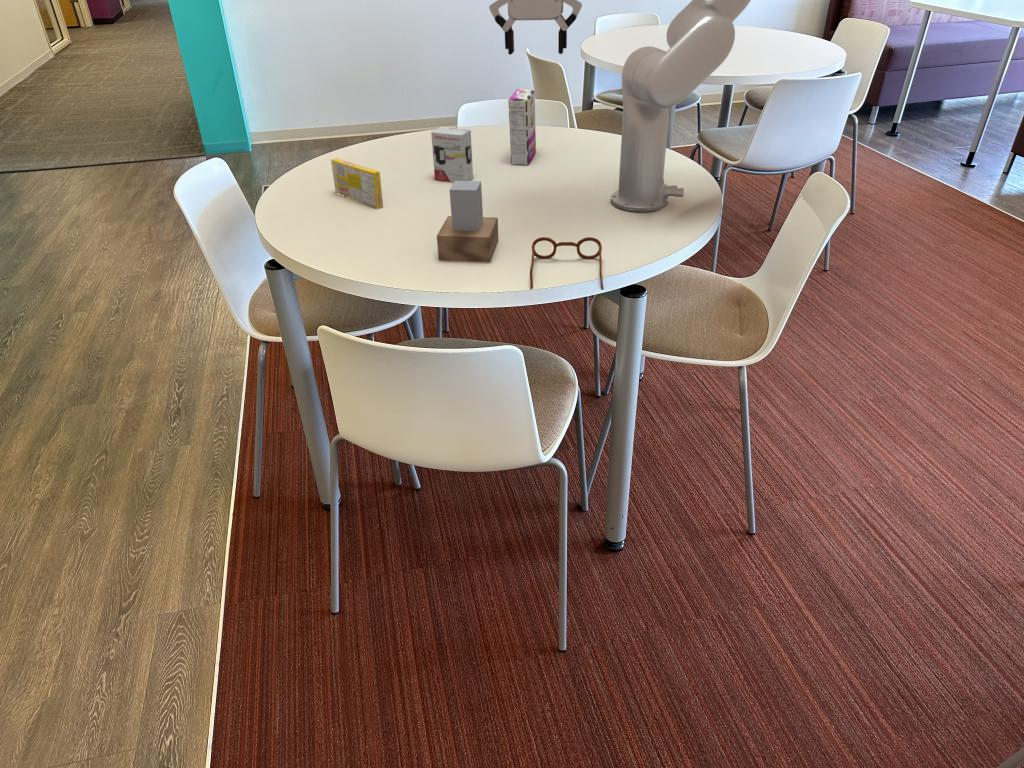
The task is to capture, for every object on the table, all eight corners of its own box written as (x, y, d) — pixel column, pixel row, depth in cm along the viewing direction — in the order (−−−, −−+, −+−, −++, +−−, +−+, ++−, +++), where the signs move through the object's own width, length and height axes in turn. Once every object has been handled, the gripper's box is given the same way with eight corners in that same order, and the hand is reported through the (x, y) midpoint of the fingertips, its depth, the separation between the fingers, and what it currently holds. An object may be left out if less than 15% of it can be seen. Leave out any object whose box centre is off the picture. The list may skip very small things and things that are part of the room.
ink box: (433, 180, 176) (429, 131, 169) (442, 174, 180) (438, 126, 173) (465, 184, 173) (462, 134, 166) (473, 177, 177) (471, 128, 170)
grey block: (483, 221, 139) (481, 181, 135) (478, 231, 135) (476, 190, 131) (458, 221, 140) (455, 180, 136) (452, 230, 136) (449, 189, 132)
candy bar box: (518, 152, 193) (516, 88, 184) (536, 153, 192) (535, 88, 183) (509, 165, 184) (507, 98, 175) (528, 166, 183) (527, 98, 174)
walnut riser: (498, 241, 144) (497, 217, 141) (490, 262, 136) (489, 237, 133) (449, 239, 145) (448, 216, 142) (438, 260, 137) (436, 235, 134)
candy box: (385, 207, 162) (380, 170, 157) (377, 209, 161) (372, 173, 156) (342, 191, 171) (336, 157, 167) (335, 194, 170) (329, 159, 165)
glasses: (600, 260, 136) (602, 235, 134) (603, 291, 126) (605, 265, 123) (532, 259, 137) (531, 235, 134) (528, 290, 126) (528, 264, 124)
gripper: (584, -54, 130) (582, 49, 140) (490, -51, 132) (494, 50, 142) (581, -51, 124) (579, 56, 134) (483, -48, 126) (488, 57, 136)
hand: (536, 53), depth 138 cm, fingers open, 9 cm apart
